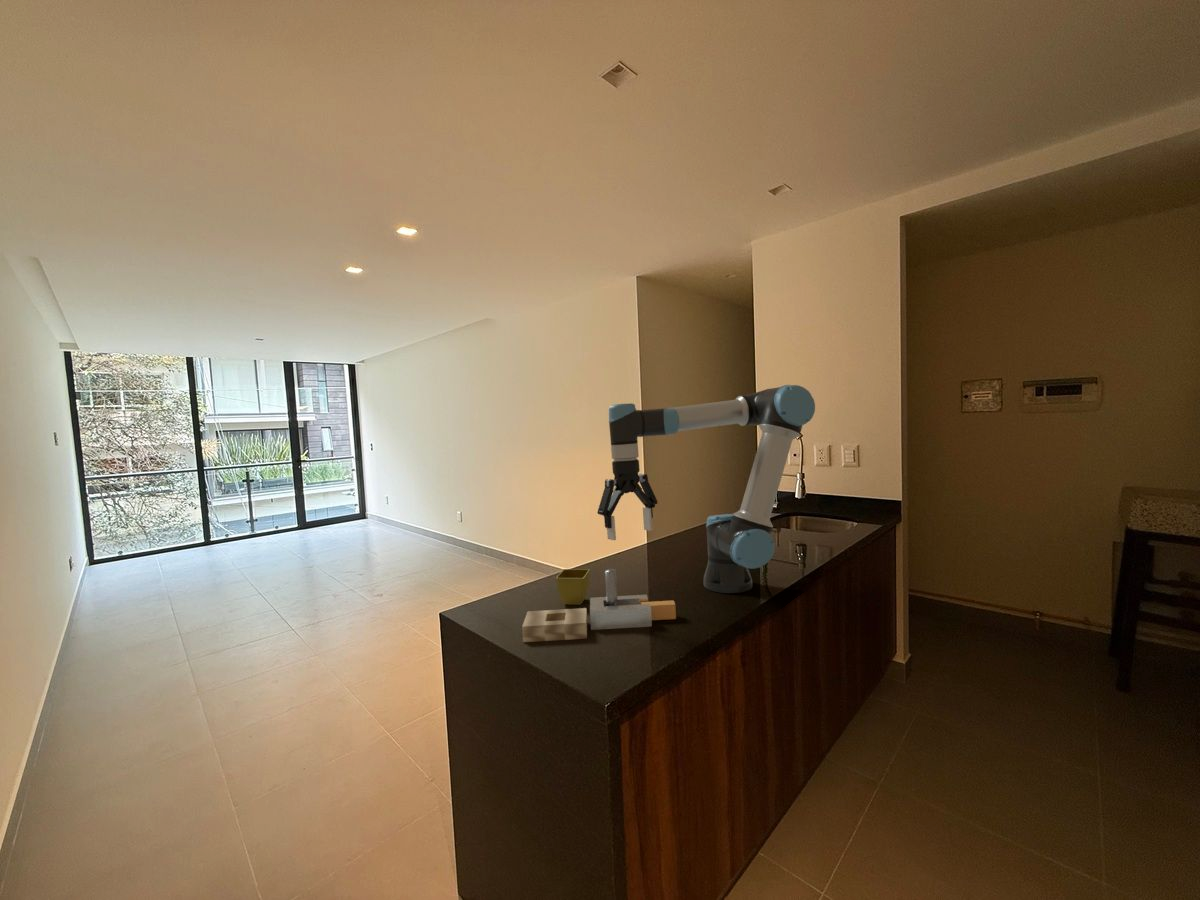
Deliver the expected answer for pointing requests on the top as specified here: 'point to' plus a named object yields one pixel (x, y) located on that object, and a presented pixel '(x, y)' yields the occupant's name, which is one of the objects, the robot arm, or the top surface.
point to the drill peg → (611, 587)
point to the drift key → (662, 610)
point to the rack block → (555, 625)
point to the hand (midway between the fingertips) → (630, 534)
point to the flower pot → (573, 585)
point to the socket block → (620, 613)
